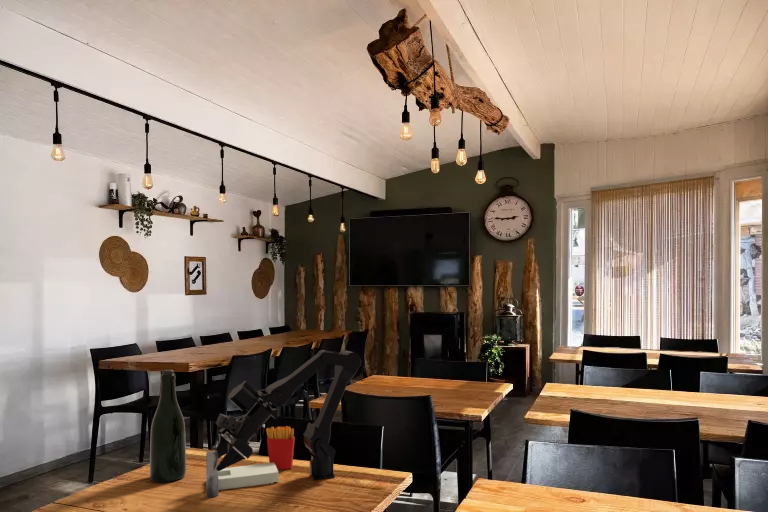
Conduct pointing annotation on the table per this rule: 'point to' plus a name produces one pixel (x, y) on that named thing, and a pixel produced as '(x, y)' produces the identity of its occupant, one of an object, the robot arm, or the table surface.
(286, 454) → the french fries
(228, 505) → the table surface
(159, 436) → the beer bottle
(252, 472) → the socket board
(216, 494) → the peg
